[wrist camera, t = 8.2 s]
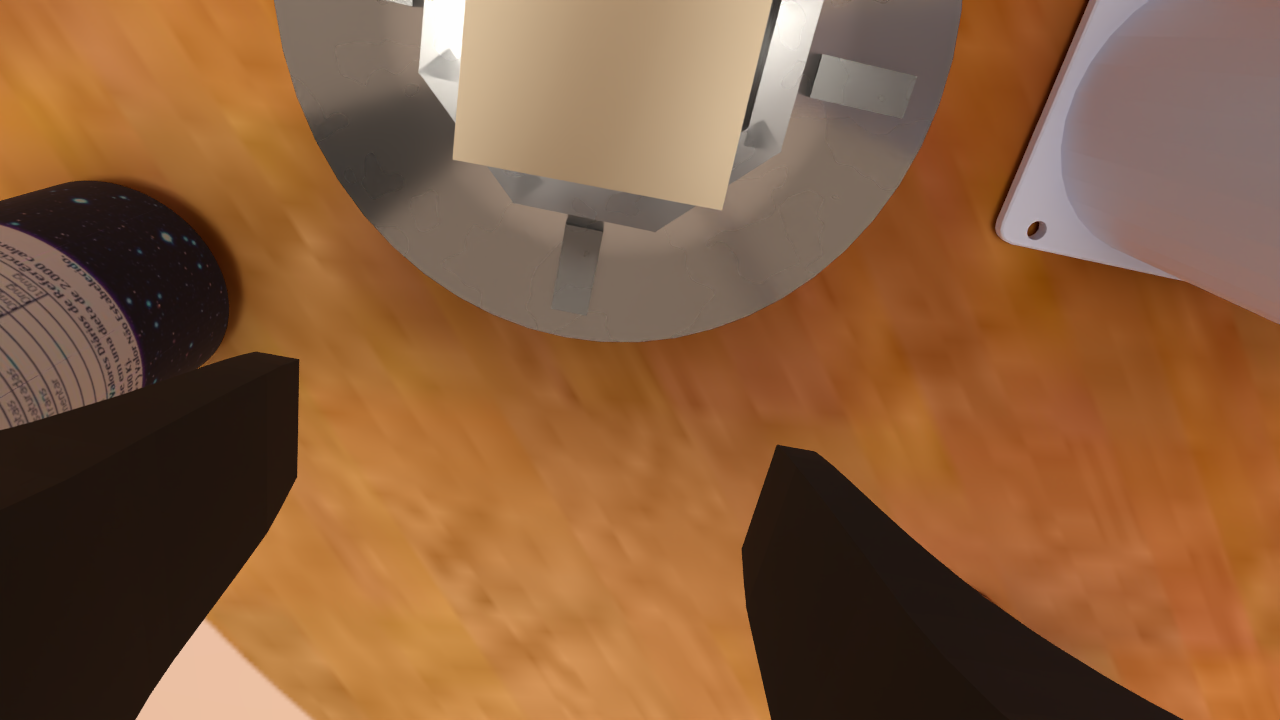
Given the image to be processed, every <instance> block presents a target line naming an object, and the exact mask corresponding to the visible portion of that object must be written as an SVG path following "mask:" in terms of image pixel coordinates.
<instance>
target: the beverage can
mask: <svg viewBox="0 0 1280 720" xmlns="http://www.w3.org/2000/svg"><path fill="white" fill-rule="evenodd" d="M228 317H229V300H228V293H227V288H226V284H225V281H224V278H223V275H222V272H221V270H220V268H219V266H218V264H217V261H216V260H215V258H214V256H213V254H212V253H211V251H210V250H209V248H208V247H207V245H206V244H205V243H204V241H203V240H202V239H201V237H200V236H199V235H198V234H197V233H196V232H195V230H194V229H193V228H192V227H191V226H190V225H189V224H188V223H187V222H185V221H184V220H183V219H182V218H181V217H180V216H178V215H177V214H176V213H175V212H173V211H172V210H171V209H169V208H168V207H166V206H165V205H163V204H162V203H160V202H158V201H157V200H155V199H153V198H151V197H149V196H147V195H145V194H143V193H141V192H139V191H136V190H133V189H131V188H128V187H124V186H121V185H117V184H113V183H107V182H100V181H75V182H68V183H64V184H60V185H56V186H52V187H49V188H45V189H42V190H38V191H34V192H31V193H27V194H24V195H20V196H16V197H13V198H9V199H6V200H2V201H0V430H3V429H7V428H11V427H15V426H18V425H22V424H26V423H29V422H33V421H37V420H40V419H43V418H46V417H50V416H53V415H56V414H60V413H63V412H66V411H70V410H73V409H76V408H79V407H83V406H86V405H89V404H93V403H96V402H99V401H103V400H106V399H109V398H112V397H116V396H119V395H122V394H125V393H128V392H131V391H134V390H137V389H140V388H143V387H146V386H149V385H152V384H154V383H157V382H160V381H163V380H166V379H169V378H172V377H175V376H178V375H181V374H184V373H187V372H190V371H193V370H196V369H197V368H198V367H200V366H201V365H202V364H204V363H205V362H206V361H207V360H208V359H209V358H210V357H211V356H212V355H213V354H214V353H215V351H216V350H217V348H218V347H219V345H220V343H221V342H222V339H223V337H224V335H225V332H226V328H227V324H228Z"/></svg>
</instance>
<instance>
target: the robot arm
mask: <svg viewBox="0 0 1280 720" xmlns="http://www.w3.org/2000/svg"><path fill="white" fill-rule="evenodd" d="M1036 221H1039V229H1038V230H1037V232H1036V233H1035V234H1033V235H1031V236H1028V235H1027V230H1028V228H1029V226H1030V225H1031V224H1032V223H1034V222H1036ZM995 229H996V234H997V235H998V236H999V237H1000V239H1002V240H1004V241H1006V242H1008V243H1010V244H1013V245H1018V246H1023V247H1027V248H1032V249H1037V250H1041V251H1046V252H1051V253H1055V254H1060V255H1065V256H1069V257H1074V258H1079V259H1083V260H1088V261H1093V262H1097V263H1102V264H1107V265H1111V266H1116V267H1121V268H1125V269H1130V270H1135V271H1139V272H1144V273H1148V274H1153V275H1158V276H1162V277H1167V278H1172V279H1176V280H1181V281H1186V282H1188V283H1190V284H1192V285H1195V286H1197V287H1199V288H1201V289H1203V290H1205V291H1208V292H1210V293H1212V294H1214V295H1216V296H1219V297H1221V298H1223V299H1225V300H1227V301H1229V302H1232V303H1234V304H1236V305H1238V306H1240V307H1243V308H1245V309H1247V310H1249V311H1251V312H1253V313H1256V314H1258V315H1260V316H1262V317H1264V318H1267V319H1269V320H1271V321H1273V322H1275V323H1277V324H1280V0H1089V3H1088V5H1087V7H1086V10H1085V12H1084V14H1083V17H1082V19H1081V22H1080V24H1079V26H1078V29H1077V31H1076V33H1075V36H1074V38H1073V41H1072V43H1071V45H1070V48H1069V50H1068V52H1067V55H1066V57H1065V60H1064V62H1063V64H1062V67H1061V69H1060V71H1059V74H1058V76H1057V78H1056V81H1055V83H1054V86H1053V88H1052V90H1051V93H1050V95H1049V97H1048V100H1047V102H1046V105H1045V107H1044V109H1043V112H1042V114H1041V116H1040V119H1039V121H1038V124H1037V126H1036V128H1035V131H1034V133H1033V135H1032V138H1031V140H1030V142H1029V145H1028V147H1027V150H1026V152H1025V154H1024V157H1023V159H1022V161H1021V164H1020V166H1019V169H1018V171H1017V173H1016V176H1015V178H1014V180H1013V183H1012V185H1011V187H1010V190H1009V192H1008V195H1007V197H1006V199H1005V202H1004V204H1003V206H1002V209H1001V211H1000V214H999V216H998V218H997V221H996V226H995ZM298 397H299V359H294V358H288V357H283V356H277V355H272V354H266V353H260V352H252V353H248V354H243V355H240V356H236V357H233V358H229V359H226V360H223V361H220V362H217V363H213V364H210V365H207V366H204V367H201V368H199V369H196V370H193V371H190V372H187V373H184V374H181V375H178V376H175V377H172V378H169V379H166V380H163V381H160V382H157V383H154V384H152V385H149V386H146V387H143V388H140V389H137V390H134V391H131V392H128V393H125V394H122V395H119V396H116V397H112V398H109V399H106V400H103V401H99V402H96V403H93V404H89V405H86V406H83V407H79V408H76V409H73V410H70V411H66V412H63V413H60V414H56V415H53V416H50V417H46V418H43V419H40V420H37V421H33V422H29V423H26V424H22V425H18V426H15V427H11V428H7V429H3V430H0V720H135V719H136V718H137V716H138V714H139V713H140V711H141V709H142V708H143V706H144V704H145V702H146V701H147V699H148V697H149V696H150V694H151V693H152V691H153V690H154V688H155V687H156V685H157V684H158V682H159V681H160V679H161V678H162V676H163V675H164V673H165V672H166V671H167V669H168V668H169V666H170V665H171V663H172V662H173V660H174V659H175V657H176V656H177V655H178V654H179V652H180V651H181V650H182V648H183V647H184V645H185V644H186V643H187V641H188V640H189V639H190V637H191V636H192V635H193V633H194V632H195V631H196V629H197V628H198V626H199V625H200V624H201V622H202V621H203V620H204V619H205V617H206V616H207V614H208V613H209V612H210V610H211V609H212V608H213V606H214V605H215V604H216V602H217V601H218V600H219V598H220V597H221V596H222V594H223V593H224V592H225V590H226V589H227V587H228V586H229V585H230V583H231V582H232V581H233V579H234V578H235V577H236V575H237V574H238V573H239V571H240V570H241V568H242V567H243V566H244V564H245V563H246V562H247V560H248V559H249V557H250V556H251V555H252V553H253V552H254V551H255V549H256V548H257V546H258V545H259V544H260V542H261V541H262V539H263V538H264V537H265V535H266V534H267V532H268V530H269V529H270V527H271V525H272V523H273V521H274V520H275V518H276V516H277V514H278V512H279V511H280V509H281V507H282V505H283V503H284V501H285V499H286V497H287V495H288V493H289V491H290V489H291V487H292V486H293V484H294V482H295V480H296V478H297V454H298ZM742 561H743V576H744V588H745V598H746V608H747V613H748V618H749V622H750V627H751V631H752V636H753V641H754V645H755V650H756V654H757V659H758V663H759V667H760V672H761V676H762V681H763V685H764V689H765V694H766V698H767V703H768V707H769V711H770V716H771V720H1183V719H1181V718H1179V717H1177V716H1175V715H1174V714H1172V713H1170V712H1168V711H1166V710H1164V709H1162V708H1160V707H1158V706H1157V705H1155V704H1153V703H1151V702H1149V701H1147V700H1146V699H1144V698H1142V697H1140V696H1138V695H1137V694H1135V693H1133V692H1131V691H1130V690H1128V689H1126V688H1124V687H1123V686H1121V685H1119V684H1117V683H1116V682H1114V681H1112V680H1110V679H1109V678H1107V677H1105V676H1104V675H1102V674H1100V673H1099V672H1097V671H1096V670H1094V669H1092V668H1091V667H1089V666H1087V665H1086V664H1084V663H1083V662H1081V661H1079V660H1078V659H1076V658H1074V657H1073V656H1071V655H1070V654H1068V653H1066V652H1065V651H1063V650H1061V649H1060V648H1058V647H1056V646H1055V645H1053V644H1052V643H1050V642H1049V641H1047V640H1046V639H1044V638H1043V637H1041V636H1040V635H1038V634H1037V633H1035V632H1034V631H1032V630H1031V629H1029V628H1028V627H1026V626H1025V625H1023V624H1022V623H1021V622H1019V621H1018V620H1016V619H1015V618H1014V617H1012V616H1011V615H1009V614H1008V613H1007V612H1005V611H1004V610H1002V609H1001V608H1000V607H998V606H997V605H995V604H994V603H992V602H991V601H990V600H988V599H987V598H985V597H984V596H983V595H981V594H980V593H979V592H977V591H976V590H975V589H974V588H972V587H971V586H970V585H968V584H967V583H966V582H964V581H963V580H962V579H961V578H959V577H958V576H957V575H956V574H954V573H953V572H952V571H951V570H950V569H948V568H947V567H946V566H945V565H944V564H942V563H941V562H940V561H939V560H937V559H936V558H935V557H934V556H933V555H931V554H930V553H929V552H928V551H927V550H925V549H924V548H923V547H922V546H921V545H920V544H918V543H917V542H916V541H915V540H914V539H913V538H912V537H910V536H909V535H908V534H907V533H906V532H905V531H904V530H903V529H901V528H900V527H899V526H898V525H897V524H896V523H895V522H894V521H893V520H891V519H890V518H889V517H888V516H887V515H886V514H885V513H884V512H883V511H882V510H880V509H879V508H878V507H877V506H876V505H875V504H874V503H873V502H872V501H871V500H870V499H869V498H868V497H866V496H865V495H864V494H863V493H862V492H861V491H860V490H859V489H858V488H857V487H856V486H855V485H854V484H852V483H851V482H850V481H849V480H848V479H847V478H846V477H845V476H844V475H843V474H842V473H840V472H839V471H838V470H837V469H836V468H835V467H834V466H833V465H831V464H830V463H829V462H828V461H827V460H825V459H824V458H823V457H822V456H820V455H819V454H818V453H816V452H815V451H809V450H803V449H798V448H792V447H787V446H781V445H777V446H776V449H775V452H774V455H773V458H772V461H771V464H770V467H769V470H768V473H767V476H766V479H765V482H764V485H763V488H762V491H761V493H760V496H759V499H758V502H757V505H756V508H755V511H754V514H753V517H752V520H751V523H750V526H749V529H748V532H747V535H746V538H745V541H744V544H743V547H742Z"/></svg>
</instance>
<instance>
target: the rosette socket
mask: <svg viewBox="0 0 1280 720" xmlns="http://www.w3.org/2000/svg"><path fill="white" fill-rule="evenodd" d="M274 3H275V8H276V14H277V20H278V25H279V31H280V36H281V42H282V48H283V52H284V55H285V59H286V62H287V65H288V69H289V72H290V75H291V79H292V82H293V85H294V89H295V92H296V95H297V98H298V100H299V103H300V105H301V107H302V110H303V112H304V114H305V117H306V119H307V121H308V124H309V126H310V128H311V131H312V133H313V135H314V138H315V140H316V142H317V144H318V145H319V147H320V149H321V151H322V152H323V154H324V156H325V158H326V159H327V161H328V163H329V165H330V166H331V168H332V170H333V172H334V173H335V175H336V177H337V179H338V180H339V182H340V183H341V184H342V186H343V187H344V188H345V190H346V191H347V193H348V194H349V195H350V197H351V198H352V199H353V201H354V202H355V203H356V205H357V206H358V208H359V209H360V210H361V212H362V213H363V214H364V216H365V217H366V218H367V219H368V220H369V221H370V222H371V223H372V224H373V225H374V227H375V228H376V229H377V230H378V231H379V232H380V233H381V234H382V235H383V236H384V237H385V238H386V240H387V241H388V242H389V243H390V244H391V245H392V246H393V247H394V248H395V249H396V250H398V251H399V252H400V253H401V254H402V255H403V256H404V257H406V258H407V259H408V260H409V261H410V262H411V263H413V264H414V265H415V266H416V267H417V268H418V269H419V270H421V271H422V272H423V273H424V274H426V275H427V276H429V277H430V278H431V279H433V280H434V281H436V282H437V283H439V284H440V285H442V286H443V287H445V288H446V289H448V290H449V291H451V292H452V293H453V294H455V295H456V296H458V297H460V298H462V299H464V300H466V301H468V302H470V303H471V304H473V305H475V306H477V307H479V308H481V309H483V310H485V311H487V312H489V313H491V314H493V315H495V316H498V317H501V318H503V319H506V320H508V321H511V322H514V323H516V324H519V325H522V326H524V327H527V328H530V329H534V330H538V331H542V332H546V333H550V334H554V335H558V336H562V337H568V338H575V339H583V340H591V341H599V342H644V341H652V340H661V339H670V338H677V337H681V336H686V335H690V334H694V333H698V332H702V331H707V330H711V329H714V328H717V327H719V326H722V325H725V324H727V323H730V322H733V321H736V320H738V319H741V318H744V317H746V316H749V315H751V314H753V313H755V312H757V311H758V310H760V309H762V308H764V307H766V306H768V305H770V304H772V303H774V302H776V301H778V300H780V299H782V298H783V297H785V296H786V295H788V294H789V293H791V292H792V291H794V290H795V289H797V288H798V287H800V286H801V285H803V284H804V283H806V282H807V281H809V280H810V279H812V278H813V277H815V276H816V275H817V274H818V273H819V272H821V271H822V270H823V269H824V268H825V267H826V266H828V265H829V264H830V263H831V262H832V261H833V260H835V259H836V258H837V257H838V256H839V255H840V254H842V253H843V252H844V251H845V250H846V249H847V248H848V247H849V246H850V245H851V244H852V243H853V242H854V240H855V239H856V238H857V237H858V236H859V235H860V234H861V233H862V232H863V231H864V230H865V229H866V228H867V226H868V225H869V224H870V223H871V222H872V221H873V220H874V219H875V217H876V216H877V215H878V213H879V212H880V210H881V209H882V208H883V206H884V205H885V204H886V202H887V201H888V200H889V198H890V197H891V195H892V194H893V193H894V191H895V190H896V189H897V187H898V186H899V184H900V183H901V181H902V179H903V177H904V176H905V174H906V172H907V170H908V169H909V167H910V165H911V163H912V162H913V160H914V158H915V156H916V155H917V153H918V151H919V149H920V148H921V146H922V143H923V141H924V139H925V136H926V134H927V132H928V129H929V127H930V125H931V122H932V120H933V118H934V115H935V113H936V111H937V108H938V106H939V103H940V100H941V97H942V93H943V90H944V87H945V83H946V80H947V77H948V73H949V70H950V67H951V63H952V60H953V55H954V49H955V44H956V38H957V33H958V27H959V22H960V16H961V10H962V0H772V4H771V8H770V13H769V17H768V21H767V25H766V29H765V33H764V38H763V42H762V46H761V50H760V54H759V58H758V63H757V67H756V71H755V75H754V79H753V83H752V88H751V92H750V96H749V100H748V104H747V108H746V113H745V117H744V121H743V125H742V129H741V133H740V138H739V142H738V146H737V150H736V154H735V158H734V163H733V167H732V171H731V175H730V179H729V183H728V188H727V192H726V196H725V200H724V204H723V208H722V210H716V209H711V208H706V207H700V206H695V205H690V204H685V203H679V202H674V201H669V200H664V199H658V198H653V197H648V196H642V195H637V194H632V193H627V192H621V191H616V190H611V189H605V188H600V187H595V186H590V185H584V184H579V183H574V182H568V181H563V180H558V179H553V178H547V177H542V176H537V175H531V174H526V173H521V172H516V171H510V170H505V169H500V168H495V167H489V166H484V165H479V164H473V163H468V162H463V161H458V160H453V147H454V135H455V123H456V111H457V98H458V86H459V74H460V62H461V49H462V37H463V25H464V13H465V0H274Z"/></svg>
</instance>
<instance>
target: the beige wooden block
mask: <svg viewBox="0 0 1280 720" xmlns="http://www.w3.org/2000/svg"><path fill="white" fill-rule="evenodd" d="M771 4H772V0H465V13H464V25H463V37H462V49H461V62H460V74H459V86H458V98H457V111H456V123H455V135H454V147H453V160H458V161H463V162H468V163H473V164H479V165H484V166H489V167H495V168H500V169H505V170H510V171H516V172H521V173H526V174H531V175H537V176H542V177H547V178H553V179H558V180H563V181H568V182H574V183H579V184H584V185H590V186H595V187H600V188H605V189H611V190H616V191H621V192H627V193H632V194H637V195H642V196H648V197H653V198H658V199H664V200H669V201H674V202H679V203H685V204H690V205H695V206H700V207H706V208H711V209H716V210H722V208H723V204H724V200H725V196H726V192H727V188H728V183H729V179H730V175H731V171H732V167H733V163H734V158H735V154H736V150H737V146H738V142H739V138H740V133H741V129H742V125H743V121H744V117H745V113H746V108H747V104H748V100H749V96H750V92H751V88H752V83H753V79H754V75H755V71H756V67H757V63H758V58H759V54H760V50H761V46H762V42H763V38H764V33H765V29H766V25H767V21H768V17H769V13H770V8H771Z"/></svg>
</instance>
